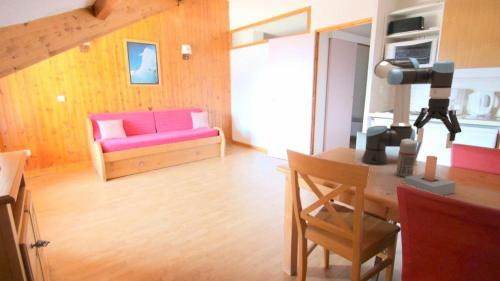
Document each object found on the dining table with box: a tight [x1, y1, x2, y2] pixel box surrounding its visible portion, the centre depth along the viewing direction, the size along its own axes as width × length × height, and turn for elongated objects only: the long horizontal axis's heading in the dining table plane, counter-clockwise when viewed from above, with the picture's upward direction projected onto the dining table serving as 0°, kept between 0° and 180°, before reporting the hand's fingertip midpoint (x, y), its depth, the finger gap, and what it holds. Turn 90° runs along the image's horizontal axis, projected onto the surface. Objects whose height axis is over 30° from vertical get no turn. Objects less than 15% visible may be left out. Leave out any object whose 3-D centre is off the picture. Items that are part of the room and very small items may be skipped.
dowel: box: [424, 155, 438, 182], centre depth 120 cm, size 4×4×16 cm
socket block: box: [404, 172, 457, 196], centre depth 121 cm, size 14×14×5 cm
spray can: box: [395, 139, 418, 178], centre depth 139 cm, size 8×8×20 cm
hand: (433, 144), depth 117 cm, fingers open, 13 cm apart
